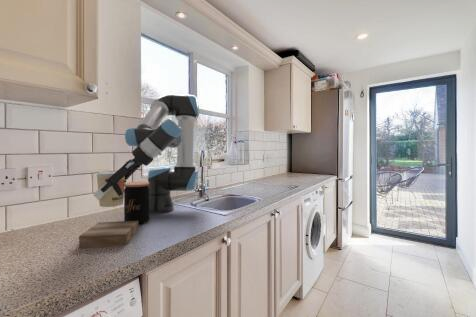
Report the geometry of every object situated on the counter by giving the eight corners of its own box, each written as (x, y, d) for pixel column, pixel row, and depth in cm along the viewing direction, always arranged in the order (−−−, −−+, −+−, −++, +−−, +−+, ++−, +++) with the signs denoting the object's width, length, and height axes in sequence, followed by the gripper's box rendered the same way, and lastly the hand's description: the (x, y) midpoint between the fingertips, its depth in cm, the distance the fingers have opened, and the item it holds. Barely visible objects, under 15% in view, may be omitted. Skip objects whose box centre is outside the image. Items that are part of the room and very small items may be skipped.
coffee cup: (113, 208, 80) (112, 174, 79) (90, 206, 82) (90, 173, 81) (131, 202, 89) (130, 171, 88) (110, 201, 91) (109, 171, 90)
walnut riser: (99, 231, 92) (99, 222, 92) (138, 230, 94) (138, 220, 94) (79, 247, 77) (78, 236, 77) (126, 245, 80) (126, 234, 79)
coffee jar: (119, 223, 103) (118, 183, 102) (138, 217, 112) (138, 180, 112) (135, 227, 98) (135, 185, 97) (154, 220, 108) (154, 182, 107)
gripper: (147, 160, 76) (96, 209, 74) (159, 157, 98) (120, 195, 96) (130, 144, 75) (78, 193, 73) (146, 145, 97) (106, 183, 95)
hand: (102, 194), depth 85 cm, fingers closed on coffee cup, 9 cm apart
